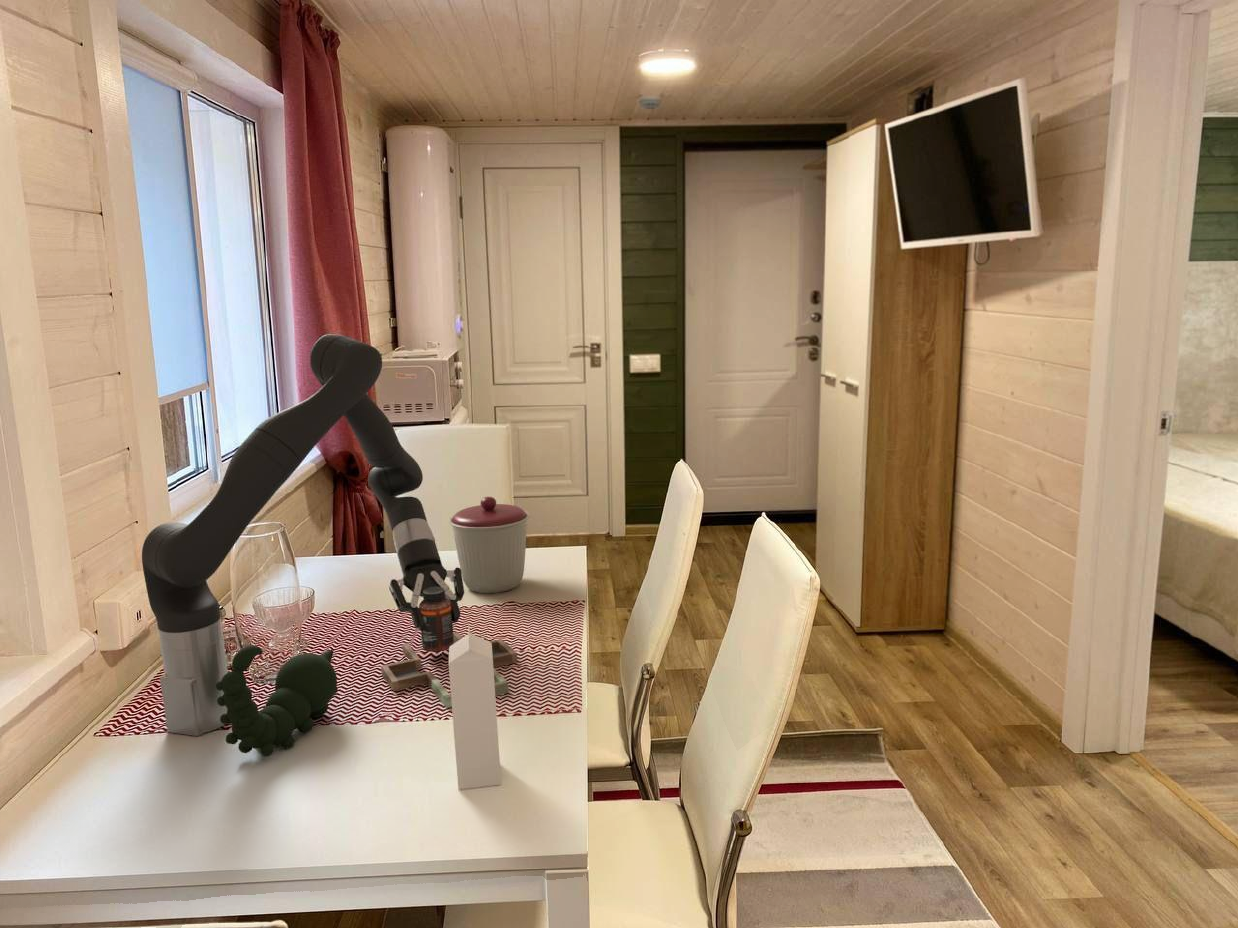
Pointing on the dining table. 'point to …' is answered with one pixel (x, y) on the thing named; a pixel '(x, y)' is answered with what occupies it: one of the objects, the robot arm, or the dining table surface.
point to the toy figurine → (276, 700)
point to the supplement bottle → (436, 620)
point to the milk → (474, 712)
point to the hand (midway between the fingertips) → (438, 624)
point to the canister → (491, 545)
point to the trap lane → (409, 676)
